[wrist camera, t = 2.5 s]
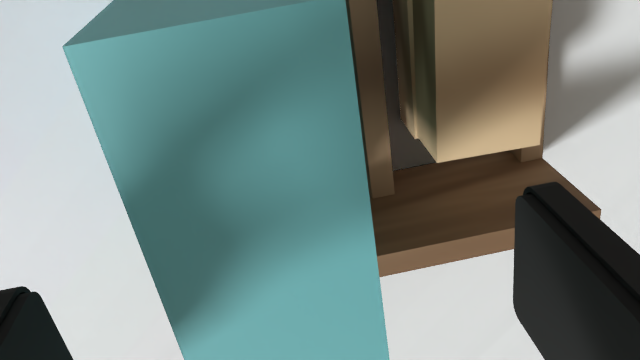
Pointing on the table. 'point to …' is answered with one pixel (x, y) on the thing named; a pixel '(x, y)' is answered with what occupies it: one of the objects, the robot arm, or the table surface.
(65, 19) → the table surface
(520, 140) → the offcut upper
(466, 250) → the offcut rack
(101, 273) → the table surface
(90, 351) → the table surface
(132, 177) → the teal sheet
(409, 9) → the offcut lower
